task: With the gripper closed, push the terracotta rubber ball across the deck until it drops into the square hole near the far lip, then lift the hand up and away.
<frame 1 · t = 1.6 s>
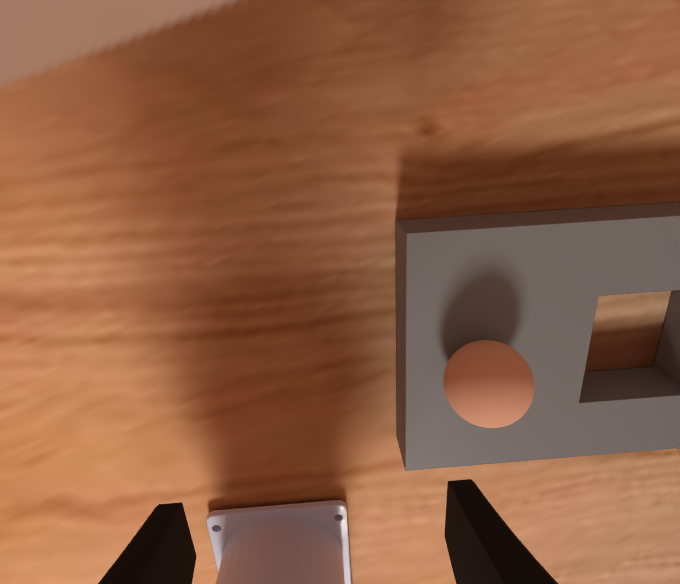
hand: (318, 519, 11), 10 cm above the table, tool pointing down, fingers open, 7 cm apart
ball: (487, 383, 17), point 4 cm above the table, touching hole deck
hole deck: (544, 328, 22), on the table
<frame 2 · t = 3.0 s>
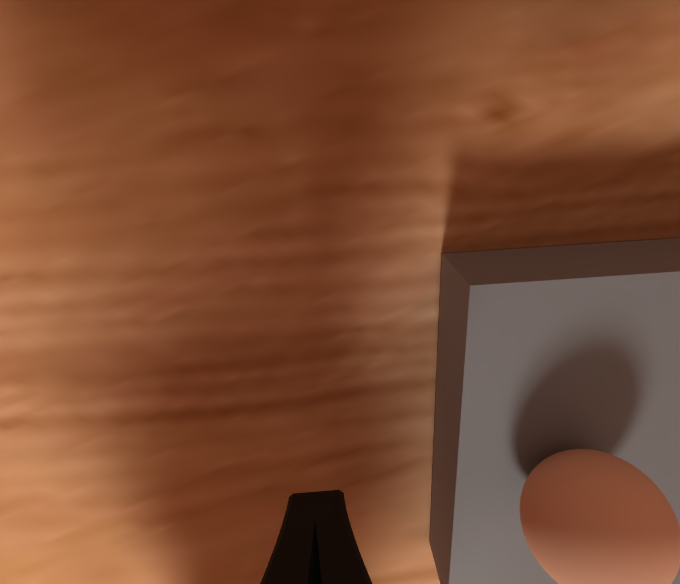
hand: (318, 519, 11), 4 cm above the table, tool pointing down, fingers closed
ball: (594, 522, 11), point 4 cm above the table, touching hole deck
hole deck: (648, 404, 15), on the table
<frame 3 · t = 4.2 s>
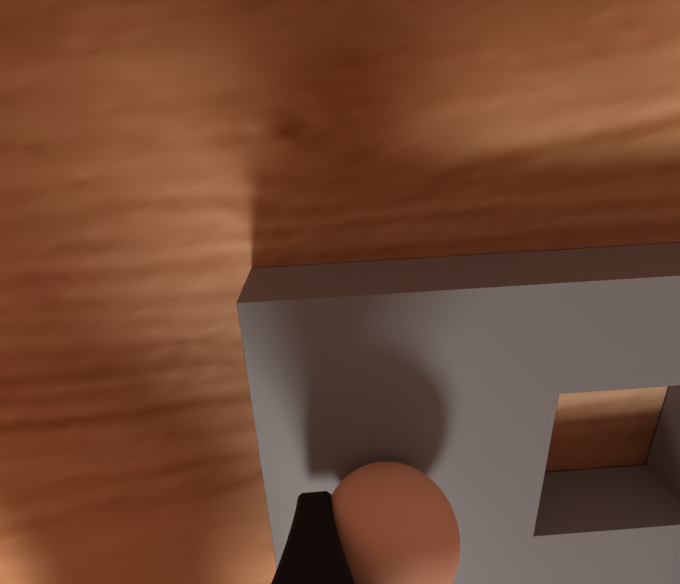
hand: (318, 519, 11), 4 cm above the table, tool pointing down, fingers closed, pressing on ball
ball: (389, 534, 11), point 4 cm above the table, tilted 12°, touching gripper, hole deck
hole deck: (488, 417, 15), on the table
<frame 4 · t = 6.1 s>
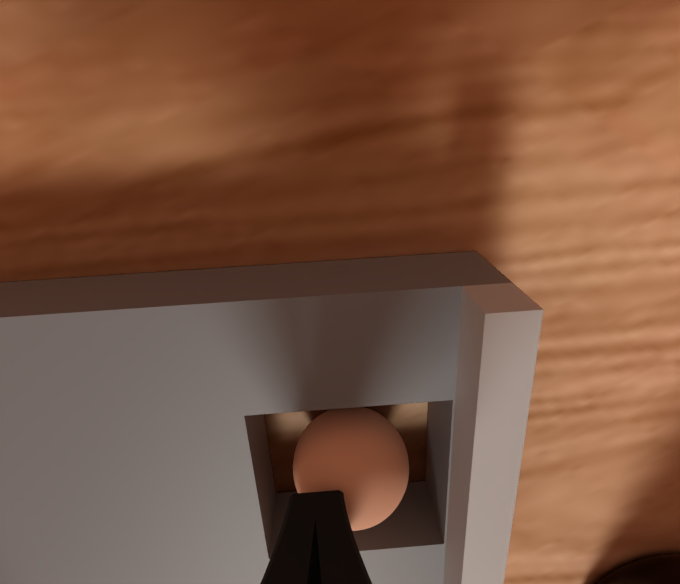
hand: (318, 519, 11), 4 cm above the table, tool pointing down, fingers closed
ball: (350, 465, 13), point 2 cm above the table, tilted 87°
hole deck: (244, 434, 15), on the table
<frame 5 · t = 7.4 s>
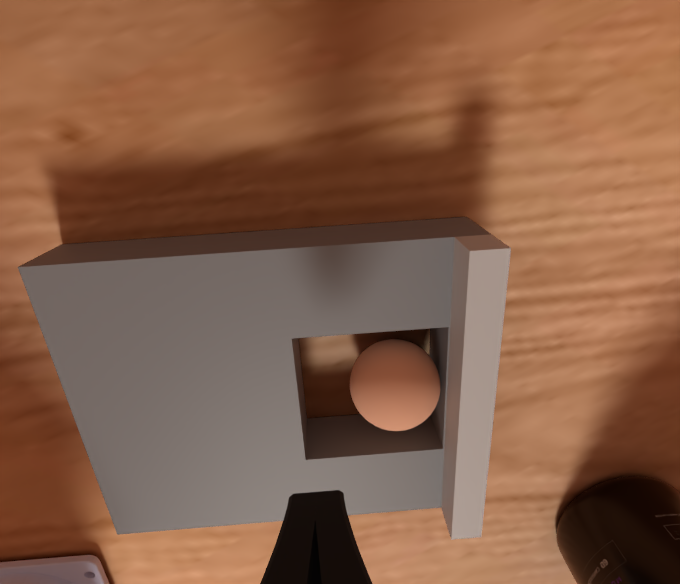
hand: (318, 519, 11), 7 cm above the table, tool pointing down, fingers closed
ball: (394, 384, 17), point 2 cm above the table, tilted 56°
supplement bottle: (612, 515, 23), on the table
hole deck: (283, 367, 18), on the table
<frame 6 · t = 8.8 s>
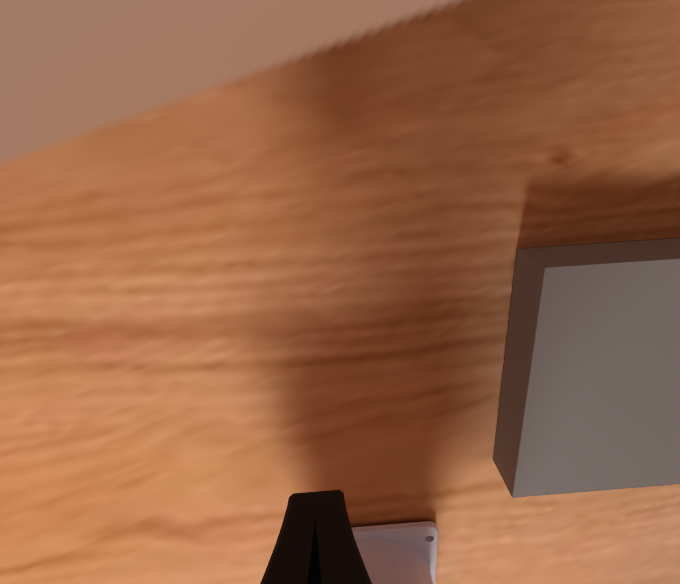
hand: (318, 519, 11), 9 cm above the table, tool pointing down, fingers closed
hole deck: (652, 354, 21), on the table
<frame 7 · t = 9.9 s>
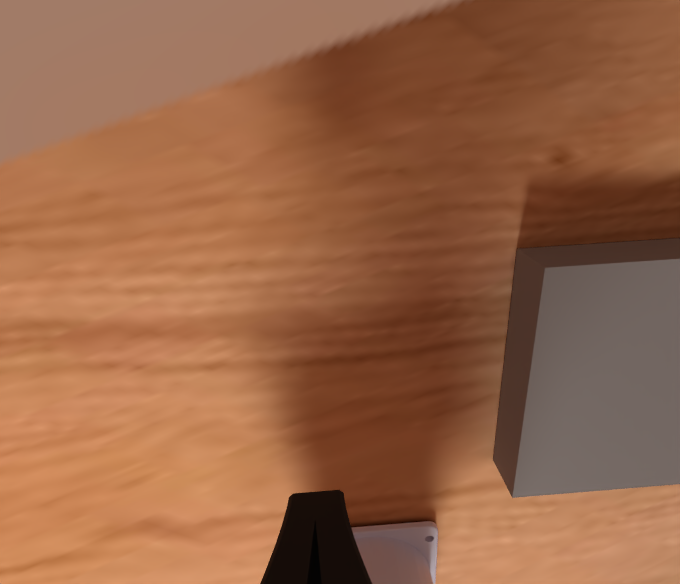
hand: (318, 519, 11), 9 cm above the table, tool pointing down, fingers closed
hole deck: (652, 354, 21), on the table
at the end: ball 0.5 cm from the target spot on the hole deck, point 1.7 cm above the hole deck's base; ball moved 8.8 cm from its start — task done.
